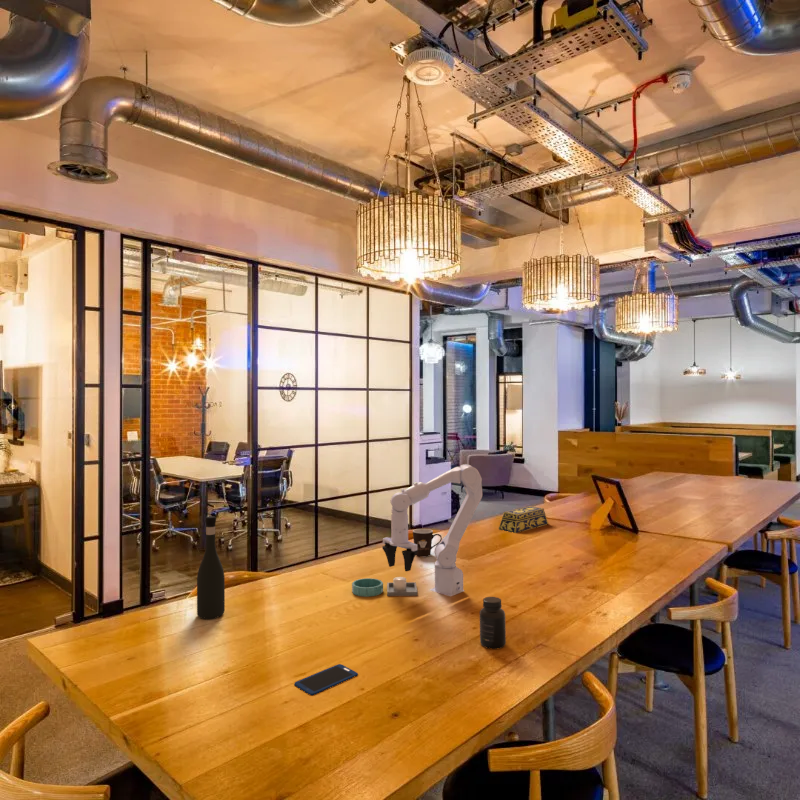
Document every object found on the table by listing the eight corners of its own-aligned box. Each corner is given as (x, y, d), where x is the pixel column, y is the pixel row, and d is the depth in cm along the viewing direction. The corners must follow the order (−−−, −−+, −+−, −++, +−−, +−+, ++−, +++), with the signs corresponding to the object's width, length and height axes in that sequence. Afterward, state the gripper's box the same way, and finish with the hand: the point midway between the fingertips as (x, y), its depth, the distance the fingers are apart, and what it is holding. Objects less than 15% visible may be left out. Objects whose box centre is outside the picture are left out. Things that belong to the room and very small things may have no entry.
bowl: (388, 592, 194) (388, 582, 194) (366, 600, 187) (366, 590, 187) (368, 586, 201) (368, 576, 201) (346, 593, 194) (346, 583, 194)
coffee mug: (409, 555, 240) (409, 531, 240) (418, 550, 248) (418, 527, 248) (434, 559, 235) (434, 534, 235) (442, 554, 243) (442, 530, 243)
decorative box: (549, 524, 301) (549, 507, 301) (515, 534, 280) (515, 515, 280) (531, 521, 309) (531, 505, 309) (497, 530, 288) (497, 512, 288)
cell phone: (359, 676, 136) (359, 673, 136) (311, 698, 127) (311, 694, 127) (340, 666, 142) (340, 663, 142) (292, 686, 132) (292, 682, 132)
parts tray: (415, 587, 200) (415, 582, 200) (417, 597, 190) (417, 591, 190) (387, 587, 199) (387, 582, 199) (387, 597, 189) (387, 592, 189)
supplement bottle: (488, 636, 158) (488, 593, 158) (510, 643, 154) (510, 598, 154) (474, 644, 153) (474, 600, 153) (497, 652, 148) (497, 605, 148)
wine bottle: (196, 612, 177) (196, 515, 177) (223, 609, 179) (223, 513, 179) (197, 621, 169) (197, 520, 169) (225, 618, 172) (225, 518, 172)
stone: (408, 590, 195) (408, 578, 195) (400, 593, 191) (400, 581, 191) (399, 587, 198) (399, 576, 198) (390, 590, 194) (390, 579, 194)
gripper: (376, 527, 197) (376, 566, 197) (407, 533, 187) (407, 575, 187) (390, 523, 202) (390, 562, 202) (421, 530, 192) (421, 570, 192)
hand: (399, 568), depth 195 cm, fingers open, 7 cm apart
